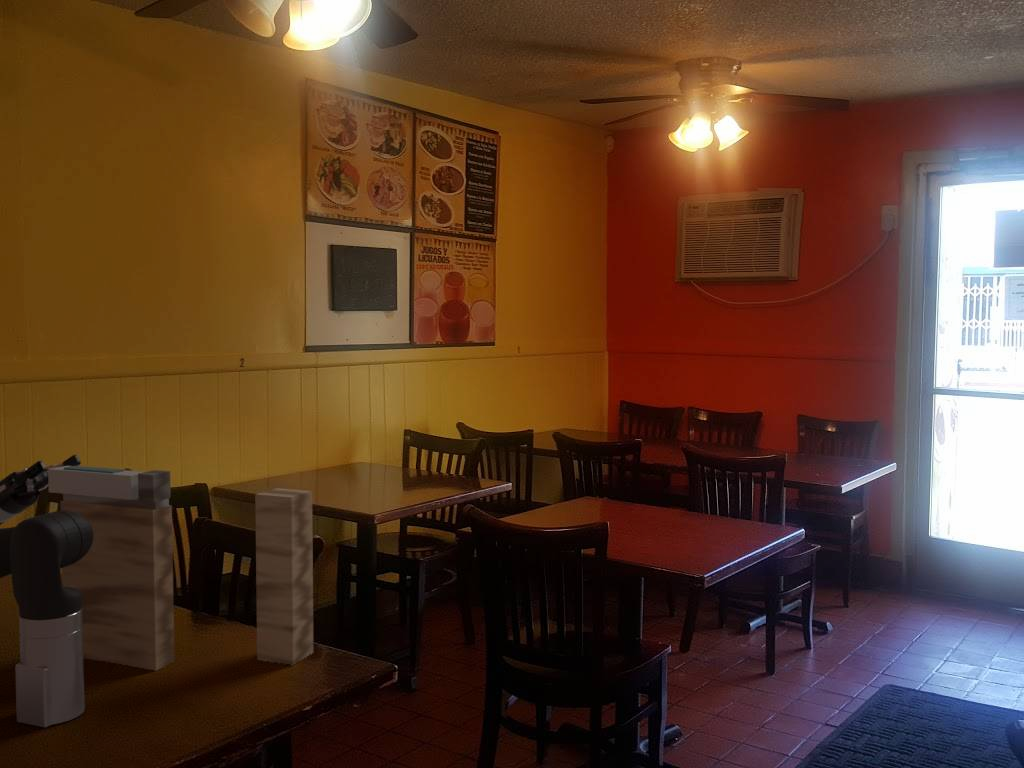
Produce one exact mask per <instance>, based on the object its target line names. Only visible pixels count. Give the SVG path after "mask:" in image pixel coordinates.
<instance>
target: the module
mask: <svg viewBox="0 0 1024 768" xmlns="http://www.w3.org/2000/svg"><path fill="white" fill-rule="evenodd" d="M47 472H48V484H49V486H48V493H51V494H52V493H54V494H61V495H63V494H73V495H84V496H94V497H105V498H116V499H126V500H133V499H137V498H138V474H139V473H143V472H144V471H137V470H127V469H126V470H125V469H121V468H109V467H96V466H83V465H78V466H62V467H57V468H51V469H48V471H47Z"/></svg>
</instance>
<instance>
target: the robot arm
mask: <svg viewBox="0 0 1024 768" xmlns="http://www.w3.org/2000/svg"><path fill="white" fill-rule="evenodd" d="M81 464H82V462H81V459H80V457H79V456H78V454H72V455H71V456H70V457H68V458H66V460H64V461H62V462H61V463H59V464H56V465H53V464H51V465H48V466H46V465H45V462H44V461H43V460H38V461H36V462H35V463H34V464H32V465H30V466H29V467H28V468H24V469H22V470H21V471H13V472H11V473H9V474H8V475H6V477H4V478H3V479H1V480H0V526H1V525H3V524H4V523H6V522H8V521H9V520H11V519H13V518H15V517H17V516H18V515H20V514H21V513H22V512H24V511H25V510H27V509H28V508H30V507H31V506H33V505H34V504H36V503H37V502H38V500H39V498H40V493H41V491H43V490H45V489H47V488H48V487H49V484H48V469H51V468H57V467H62V466H81ZM93 537H94V534H93V529H92V526H91V525H90V523H89V522H88V521H87V520H86V519H85V518H84V517H83V516H81V515H80V514H78V513H75V512H71V511H61V510H55V511H51V512H47V513H44V514H40V515H35V516H32V517H29V518H26V519H24V520H22V521H20V522H19V523H18V524H17V525H16V526H10V527H3V528H0V579H2V578H4V577H7V576H9V575H11V582H12V585H11V586H12V593H13V596H14V599H15V602H16V604H17V607H18V614H19V615H18V619H19V648H20V649H19V651H20V652H19V654H20V662H18V663H16V664H15V668H14V670H15V700H16V701H15V702H16V704H15V705H16V706H15V707H16V722H17V723H21V724H26V725H30V726H35V727H40V728H47V727H50V726H52V725H57V724H61V723H64V722H68V721H71V720H73V719H75V718H77V717H79V716H80V715H82V714H83V713H84V712H85V706H86V705H85V675H84V671H85V670H84V669H85V668H84V658H83V621H82V595H81V593H80V591H79V590H77V589H75V588H71V587H63V585H62V568H63V567H66V566H69V565H72V564H74V563H76V562H77V561H79V560H80V559H82V558H83V557H84V556H85V555H86V554H87V552H88V551H89V549H90V548H91V546H92V543H93Z"/></svg>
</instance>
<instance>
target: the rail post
mask: <svg viewBox="0 0 1024 768" xmlns="http://www.w3.org/2000/svg"><path fill="white" fill-rule="evenodd" d="M142 472H143V473H139V474H138V498H137V499H133V500H126V499H116V498H105V497H94V496H84V495H73V494H62V495H63V500H61V501H60V502H59V506H60V510H59V511H71V512H75V513H78V514H80V515H81V516H83V517H84V518H85V519H86V520H87V521H88V522H89V523H90V525H91V526H92V529H93V534H94V537H93V543H92V546H91V548H90V549H89V551H88V552H87V554H86V555H85V556H84V557H83V558H82V559H80V560H79V561H77V562H76V563H74V564H72V565H69V566H66V567H63V568H61V580H62V585H63V587H71V588H75V589H77V590H79V591H80V593H81V595H82V621H83V660H84V659H85V660H90V659H91V661H96V660H97V662H102V661H105V662H104V663H108V662H110V663H109V664H113V663H117V664H116V665H119V664H122V665H121V666H125V665H128V666H127V667H131V666H132V667H133V668H137V667H138V668H140V669H143V668H144V669H145V670H150V671H158V670H160V669H162V668H165V667H166V666H169V665H170V663H171V664H172V663H174V662H175V619H174V618H175V616H174V614H175V613H174V608H175V607H174V566H173V564H174V563H173V560H174V557H173V556H174V555H173V551H174V550H173V548H174V547H173V506H172V505H171V504H170V499H171V496H172V495H171V494H172V491H171V471H170V470H157V469H155V470H148V471H142Z"/></svg>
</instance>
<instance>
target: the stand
mask: <svg viewBox="0 0 1024 768" xmlns="http://www.w3.org/2000/svg"><path fill="white" fill-rule="evenodd" d="M254 498H255V502H254V503H255V504H254V505H255V563H256V564H255V566H256V567H255V574H256V576H255V581H256V590H255V591H256V656H257V657H256V660H257V661H261V660H262V662H267V661H269V663H274V662H278V663H277V664H280V663H284V664H283V665H286V664H290V665H289V666H295V665H296V663H297V662H298V663H300V662H302V661H303V660H305V659H306V658H308V657H309V655H310V654H311V655H313V654H314V561H313V560H314V558H313V557H314V555H313V554H314V552H313V550H314V548H313V547H314V545H313V544H314V543H313V533H314V532H313V530H314V529H313V528H314V527H313V490H304V489H292V488H279V487H276V488H272V489H269V490H265V491H262V492H258V493H255V495H254ZM312 653H313V654H312ZM311 655H310V656H311ZM307 656H308V657H307ZM304 658H305V659H304ZM302 659H303V660H302ZM299 661H300V662H299ZM298 663H297V664H298ZM294 664H295V665H294Z"/></svg>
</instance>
